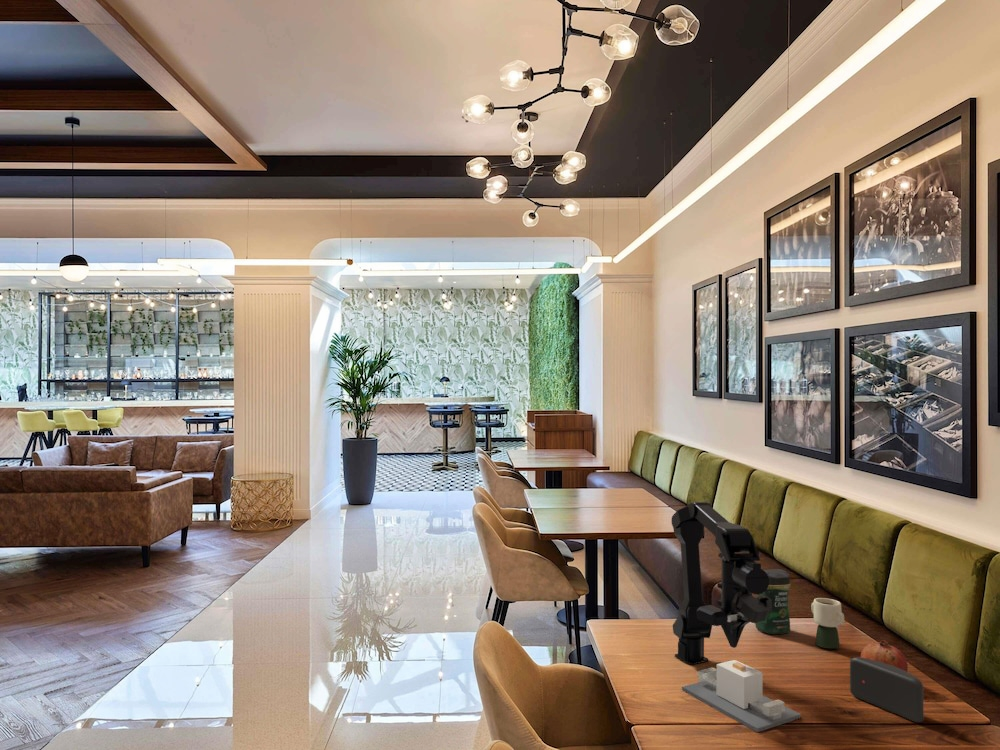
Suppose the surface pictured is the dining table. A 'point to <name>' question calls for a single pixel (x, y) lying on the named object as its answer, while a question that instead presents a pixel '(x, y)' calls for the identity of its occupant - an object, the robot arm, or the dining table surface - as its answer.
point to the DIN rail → (767, 709)
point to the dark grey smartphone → (887, 687)
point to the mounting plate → (738, 708)
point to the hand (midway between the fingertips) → (733, 647)
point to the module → (739, 683)
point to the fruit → (885, 654)
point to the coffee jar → (776, 603)
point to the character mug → (827, 621)
